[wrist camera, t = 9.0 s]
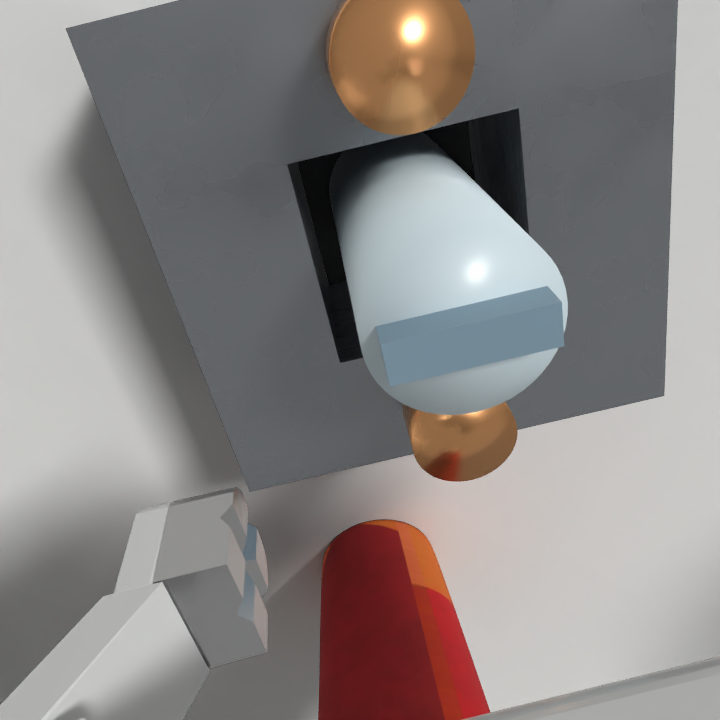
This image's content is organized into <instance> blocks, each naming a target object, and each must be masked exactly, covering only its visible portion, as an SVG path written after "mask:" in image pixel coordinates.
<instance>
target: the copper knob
mask: <svg viewBox="0 0 720 720" xmlns="http://www.w3.org/2000/svg"><path fill="white" fill-rule="evenodd" d="M403 416H404V420H405V423H406V427H407V431H408V434H409V438H410V442H411V445H412V449H413V452H414V456H415V458H416V460H417V462H418V464H419V465H420V466H421V467H422V468H423V469H424V470H425V471H426V472H427V473H429V474H430V475H432V476H434V477H436V478H439V479H442V480H446V481H468V480H473V479H476V478H479V477H482V476H484V475H486V474H488V473H490V472H492V471H493V470H495V469H496V468H498V467H499V466H500V465H501V464H502V463H503V462H504V461H505V460H506V459H507V458H508V456H509V455H510V454H511V452H512V450H513V448H514V446H515V443H516V440H517V424H516V421H515V418H514V416H513V414H512V412H511V410H510V409H509V407H508V405H507V403H506V401H505V402H503V403H501V404H499V405H496V406H494V407H491V408H489V409H485V410H482V411H478V412H474V413H468V414H460V415H439V414H433V413H427V412H423V411H420V410H416V409H414V408H411V407H409V406H407V405H404V404H403Z"/></svg>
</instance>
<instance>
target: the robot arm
mask: <svg viewBox="0 0 720 720" xmlns="http://www.w3.org/2000/svg"><path fill="white" fill-rule="evenodd" d="M247 522H248V505H247V503H246V501H245V498H244V496H243V494H242V492H241V490H240V489H238V488H237V487H235V488H230V489H226V490H221V491H217V492H213V493H208V494H204V495H199V496H195V497H190V498H186V499H181V500H177V501H173V502H169V503H165V504H161V505H157V506H152V507H148V508H144V509H141V510H140V511H139V512H138V513H137V514H136V516H135V518H134V522H133V525H132V529H131V532H130V536H129V539H128V543H127V546H126V550H125V553H124V557H123V561H122V564H121V568H120V571H119V575H118V578H117V582H116V585H115V589H114V593H113V594H110V595H106V596H103V597H102V598H101V599H100V600H99V601H98V602H97V603H96V604H95V605H94V607H93V608H92V609H91V610H90V611H89V612H88V613H87V614H86V615H85V616H84V617H83V618H82V619H81V620H80V621H79V622H78V623H77V624H76V626H75V627H74V628H73V629H72V630H71V631H70V632H69V633H68V634H67V635H66V636H65V637H64V638H63V639H62V640H61V641H60V642H59V643H58V645H57V646H56V647H55V648H54V649H53V650H52V651H51V652H50V653H49V654H48V655H47V656H46V657H45V658H44V659H43V660H42V661H41V663H40V664H39V665H38V666H37V667H36V668H35V669H34V670H33V671H32V672H31V673H30V674H29V675H28V676H27V677H26V678H25V679H24V680H23V682H22V683H21V684H20V685H19V686H18V687H17V688H16V689H15V690H14V691H13V692H12V693H11V694H10V695H9V696H8V697H7V698H6V699H5V701H4V702H3V703H2V704H1V705H0V720H183V719H184V717H185V715H186V713H187V712H188V710H189V708H190V706H191V705H192V703H193V701H194V700H195V698H196V696H197V694H198V693H199V691H200V689H201V687H202V686H203V684H204V682H205V680H206V679H207V677H208V675H209V673H210V670H209V668H213V667H217V666H220V665H224V664H228V663H231V662H235V661H239V660H242V659H246V658H249V657H253V656H257V655H260V654H264V653H267V633H268V613H267V610H266V608H265V606H264V603H263V601H262V597H263V596H264V594H265V593H266V591H267V590H268V569H267V562H266V555H265V551H264V547H263V544H262V540H261V537H260V535H259V532H258V530H257V528H256V527H254V526H252V525H251V524H249V523H247ZM462 720H720V657H716V658H712V659H708V660H704V661H700V662H695V663H691V664H687V665H683V666H679V667H675V668H671V669H667V670H663V671H659V672H655V673H650V674H646V675H642V676H638V677H634V678H630V679H626V680H622V681H618V682H614V683H610V684H605V685H601V686H597V687H593V688H589V689H585V690H581V691H577V692H573V693H569V694H565V695H560V696H556V697H552V698H548V699H544V700H540V701H536V702H532V703H528V704H524V705H520V706H515V707H511V708H507V709H503V710H499V711H495V712H491V713H487V714H483V715H479V716H475V717H471V718H466V719H462Z"/></svg>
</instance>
